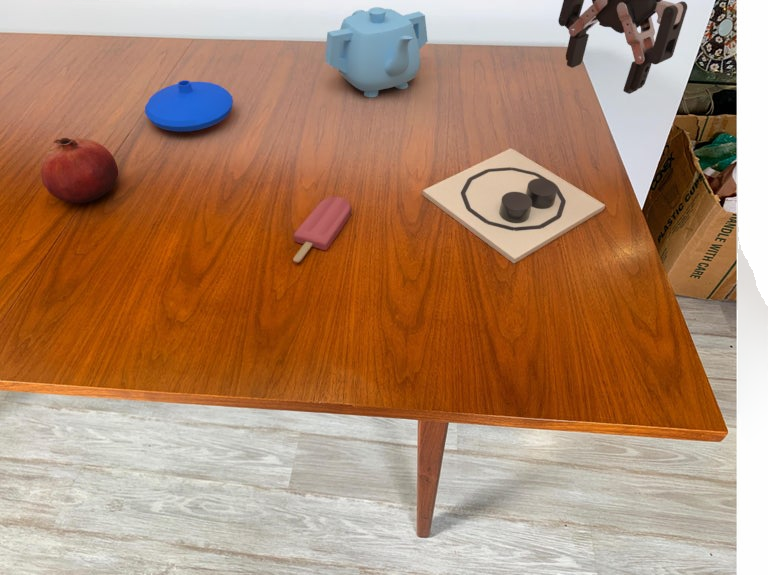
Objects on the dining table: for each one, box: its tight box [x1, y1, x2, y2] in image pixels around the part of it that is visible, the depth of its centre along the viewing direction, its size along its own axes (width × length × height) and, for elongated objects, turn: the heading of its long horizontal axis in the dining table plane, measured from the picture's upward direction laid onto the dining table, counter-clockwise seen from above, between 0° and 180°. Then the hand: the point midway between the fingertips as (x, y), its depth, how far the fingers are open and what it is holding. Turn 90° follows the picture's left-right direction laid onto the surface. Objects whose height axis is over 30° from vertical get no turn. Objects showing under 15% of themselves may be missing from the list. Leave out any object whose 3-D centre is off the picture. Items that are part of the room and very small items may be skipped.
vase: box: [144, 79, 234, 132], centre depth 106 cm, size 16×16×7 cm
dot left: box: [499, 192, 532, 223], centre depth 87 cm, size 4×4×2 cm
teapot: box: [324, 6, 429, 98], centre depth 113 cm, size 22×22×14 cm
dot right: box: [526, 178, 558, 209], centre depth 89 cm, size 4×4×2 cm
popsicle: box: [292, 196, 352, 264], centre depth 85 cm, size 5×2×15 cm
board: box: [422, 147, 606, 264], centre depth 91 cm, size 20×20×1 cm
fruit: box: [40, 137, 119, 204], centre depth 89 cm, size 11×10×10 cm
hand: (601, 77), depth 71 cm, fingers open, 8 cm apart
